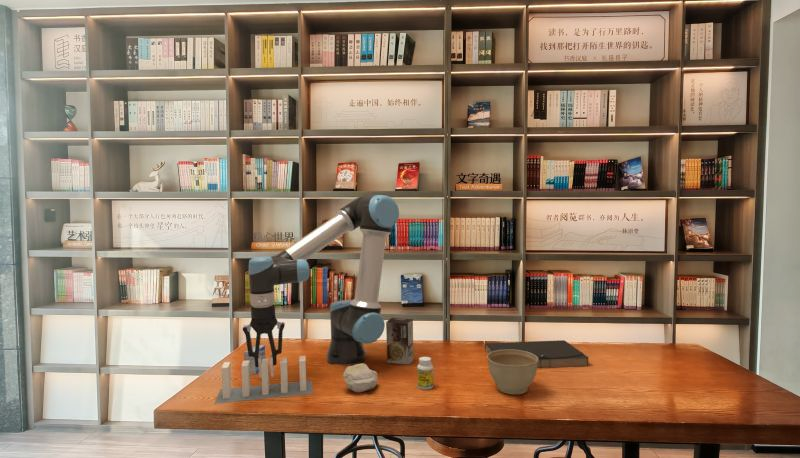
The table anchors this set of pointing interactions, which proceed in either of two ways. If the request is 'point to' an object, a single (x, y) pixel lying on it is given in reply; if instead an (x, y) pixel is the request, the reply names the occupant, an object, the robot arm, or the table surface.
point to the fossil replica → (360, 378)
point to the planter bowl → (512, 370)
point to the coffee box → (399, 340)
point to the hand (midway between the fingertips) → (266, 375)
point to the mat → (273, 393)
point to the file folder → (546, 352)
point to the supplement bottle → (425, 373)
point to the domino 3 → (265, 376)
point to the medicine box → (252, 360)
